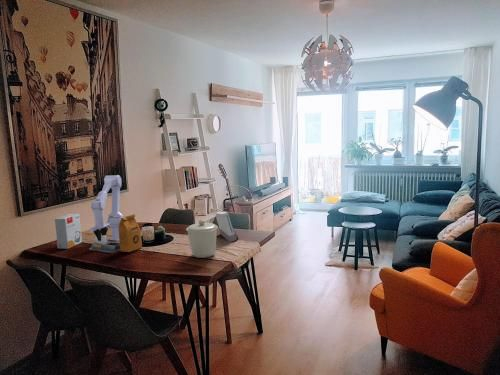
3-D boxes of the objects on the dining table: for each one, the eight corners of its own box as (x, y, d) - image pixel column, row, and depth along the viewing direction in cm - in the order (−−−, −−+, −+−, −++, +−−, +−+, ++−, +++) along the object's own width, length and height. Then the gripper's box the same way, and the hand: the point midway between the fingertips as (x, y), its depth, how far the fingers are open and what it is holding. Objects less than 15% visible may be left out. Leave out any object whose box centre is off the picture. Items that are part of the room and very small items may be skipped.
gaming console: (241, 240, 250) (233, 211, 246) (230, 244, 248) (222, 215, 244) (230, 231, 272) (223, 205, 267) (220, 235, 270) (212, 208, 265)
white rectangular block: (99, 242, 250) (98, 234, 249) (107, 243, 247) (106, 235, 246) (95, 243, 247) (95, 236, 246) (103, 244, 244) (103, 236, 243)
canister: (190, 262, 213) (187, 225, 210) (186, 252, 231) (183, 218, 227) (222, 257, 218) (220, 221, 215) (216, 248, 236) (214, 215, 232)
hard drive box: (67, 249, 248) (64, 219, 245) (57, 248, 250) (53, 218, 246) (82, 241, 263) (79, 213, 260) (72, 241, 265) (69, 213, 261)
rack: (103, 244, 255) (103, 239, 254) (126, 247, 246) (126, 242, 245) (89, 249, 244) (88, 244, 244) (112, 253, 235) (111, 247, 235)
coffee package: (144, 248, 243) (141, 214, 239) (129, 254, 232) (125, 218, 229) (133, 246, 248) (130, 212, 245) (118, 251, 238) (114, 217, 234)
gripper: (103, 216, 252) (105, 236, 255) (85, 221, 240) (88, 242, 242) (111, 216, 249) (113, 237, 251) (93, 222, 237) (96, 243, 239)
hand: (101, 239), depth 246 cm, fingers closed on white rectangular block, 3 cm apart
